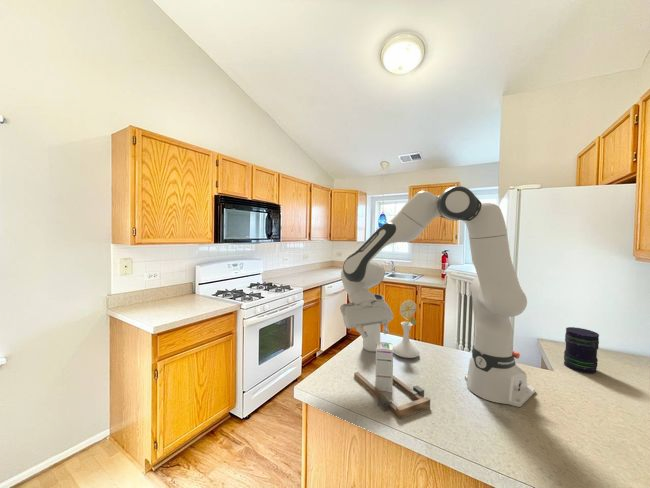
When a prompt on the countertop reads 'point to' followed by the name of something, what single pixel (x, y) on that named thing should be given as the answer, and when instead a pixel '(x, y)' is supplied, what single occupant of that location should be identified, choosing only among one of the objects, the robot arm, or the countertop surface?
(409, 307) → the flower in vase
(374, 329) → the milk bottle
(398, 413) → the beam slot
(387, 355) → the syrup box
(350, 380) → the countertop surface
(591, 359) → the storage jar
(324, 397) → the countertop surface
